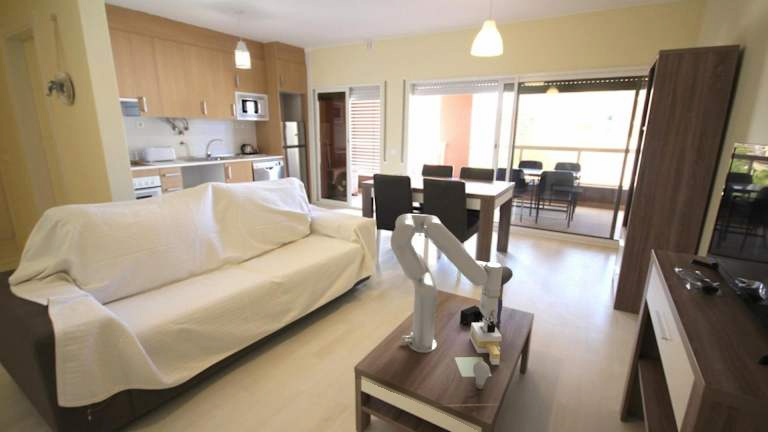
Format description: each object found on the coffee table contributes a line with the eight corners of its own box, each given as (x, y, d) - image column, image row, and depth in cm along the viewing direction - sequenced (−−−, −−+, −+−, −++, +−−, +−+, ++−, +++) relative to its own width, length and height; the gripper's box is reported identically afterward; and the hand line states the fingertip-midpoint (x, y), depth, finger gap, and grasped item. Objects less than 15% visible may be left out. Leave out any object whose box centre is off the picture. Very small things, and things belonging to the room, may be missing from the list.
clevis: (483, 365, 146) (485, 347, 144) (469, 339, 164) (471, 322, 162) (507, 365, 146) (509, 347, 144) (490, 338, 165) (492, 322, 163)
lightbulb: (468, 389, 132) (471, 364, 129) (474, 380, 137) (476, 355, 134) (484, 396, 129) (487, 370, 126) (490, 387, 134) (492, 361, 131)
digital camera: (467, 327, 174) (469, 315, 172) (459, 323, 178) (460, 310, 177) (481, 322, 180) (483, 309, 178) (473, 317, 184) (474, 305, 182)
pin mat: (462, 377, 138) (462, 376, 138) (454, 358, 150) (454, 357, 150) (491, 377, 139) (492, 376, 139) (481, 358, 151) (482, 357, 151)
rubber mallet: (498, 333, 170) (505, 275, 163) (483, 327, 175) (489, 270, 167) (508, 322, 179) (514, 267, 172) (493, 317, 184) (499, 263, 177)
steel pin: (481, 349, 156) (484, 321, 153) (478, 344, 161) (481, 316, 157) (491, 349, 157) (494, 321, 153) (487, 343, 161) (490, 316, 158)
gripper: (476, 282, 160) (472, 316, 165) (489, 300, 144) (485, 337, 148) (492, 282, 161) (488, 316, 165) (507, 300, 144) (502, 337, 148)
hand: (487, 326), depth 156 cm, fingers open, 9 cm apart
